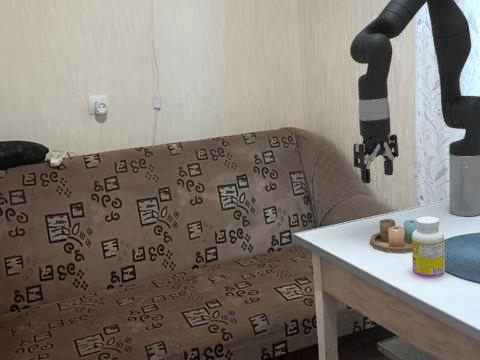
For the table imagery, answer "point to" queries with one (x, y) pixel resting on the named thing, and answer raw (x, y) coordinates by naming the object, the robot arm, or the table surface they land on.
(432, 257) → the supplement bottle
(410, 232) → the bead
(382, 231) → the bead
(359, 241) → the table surface
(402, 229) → the bead
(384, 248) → the tray
